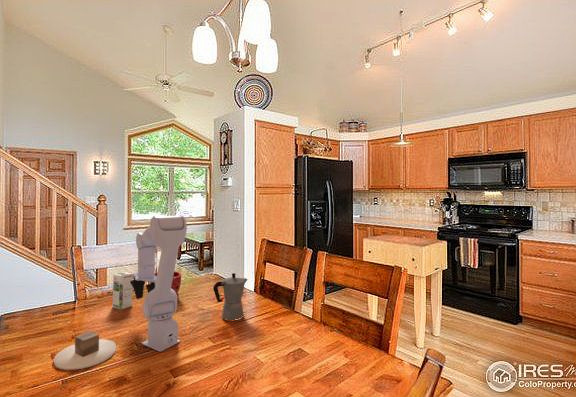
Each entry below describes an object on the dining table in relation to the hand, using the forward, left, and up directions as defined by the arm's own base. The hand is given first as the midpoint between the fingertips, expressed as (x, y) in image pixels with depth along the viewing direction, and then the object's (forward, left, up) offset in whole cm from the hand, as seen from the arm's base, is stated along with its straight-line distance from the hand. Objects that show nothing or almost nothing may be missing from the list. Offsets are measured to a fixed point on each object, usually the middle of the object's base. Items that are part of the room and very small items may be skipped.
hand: (145, 300), depth 117 cm
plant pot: (+16, -22, -10) cm, 29 cm away
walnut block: (-4, +23, -8) cm, 25 cm away
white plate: (-4, +23, -9) cm, 25 cm away
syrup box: (+24, -6, -10) cm, 27 cm away
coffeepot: (-22, -23, -10) cm, 33 cm away
